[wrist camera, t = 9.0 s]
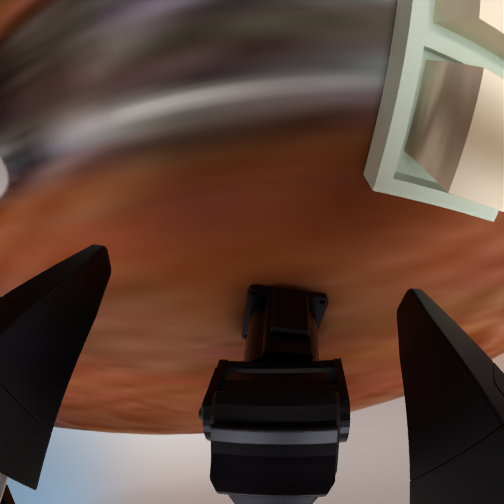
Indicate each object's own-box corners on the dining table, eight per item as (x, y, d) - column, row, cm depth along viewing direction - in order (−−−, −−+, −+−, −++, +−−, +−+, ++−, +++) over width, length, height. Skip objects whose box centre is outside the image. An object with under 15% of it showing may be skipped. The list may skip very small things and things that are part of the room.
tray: (477, 204, 18) (518, 251, 14) (363, 174, 18) (390, 221, 14) (522, -15, 7) (575, -16, 2) (402, -82, 7) (440, -115, 2)
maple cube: (475, 175, 16) (524, 220, 11) (404, 150, 16) (448, 192, 11) (498, 95, 13) (559, 120, 8) (426, 59, 13) (484, 67, 8)
